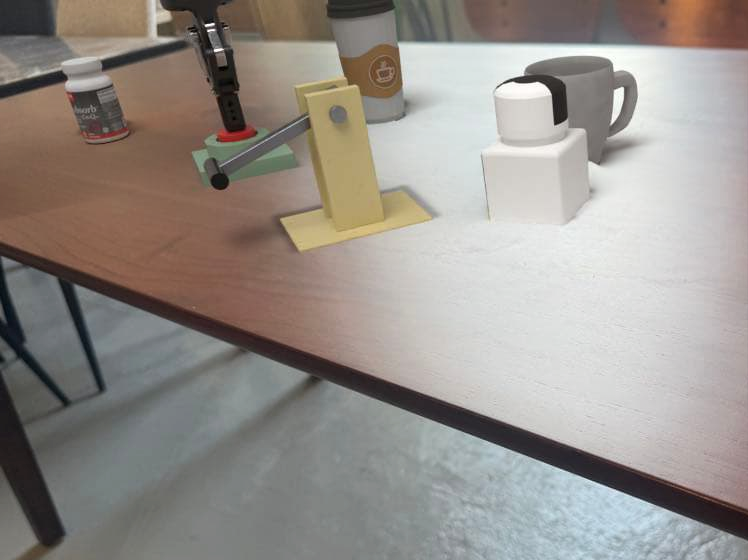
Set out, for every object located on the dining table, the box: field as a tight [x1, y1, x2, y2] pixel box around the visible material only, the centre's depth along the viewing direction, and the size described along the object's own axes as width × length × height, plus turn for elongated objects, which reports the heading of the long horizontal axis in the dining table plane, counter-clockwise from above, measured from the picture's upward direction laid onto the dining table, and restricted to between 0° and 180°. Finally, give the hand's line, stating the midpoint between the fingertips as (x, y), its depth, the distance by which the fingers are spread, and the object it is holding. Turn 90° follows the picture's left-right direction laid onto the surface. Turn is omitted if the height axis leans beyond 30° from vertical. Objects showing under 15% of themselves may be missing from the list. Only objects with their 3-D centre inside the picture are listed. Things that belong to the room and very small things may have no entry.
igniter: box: [190, 126, 298, 188], centre depth 96 cm, size 10×9×4 cm
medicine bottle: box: [480, 75, 591, 227], centre depth 74 cm, size 7×7×12 cm
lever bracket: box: [279, 75, 433, 254], centre depth 75 cm, size 12×9×13 cm
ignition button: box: [216, 124, 256, 143], centre depth 95 cm, size 4×4×2 cm
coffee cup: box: [325, 0, 406, 125], centre depth 107 cm, size 8×8×15 cm
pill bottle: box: [60, 56, 130, 144], centre depth 113 cm, size 6×6×10 cm
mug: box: [523, 55, 639, 165], centre depth 87 cm, size 12×9×10 cm
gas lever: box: [203, 85, 338, 191], centre depth 72 cm, size 13×5×2 cm, turn 115°
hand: (236, 129), depth 95 cm, fingers closed
